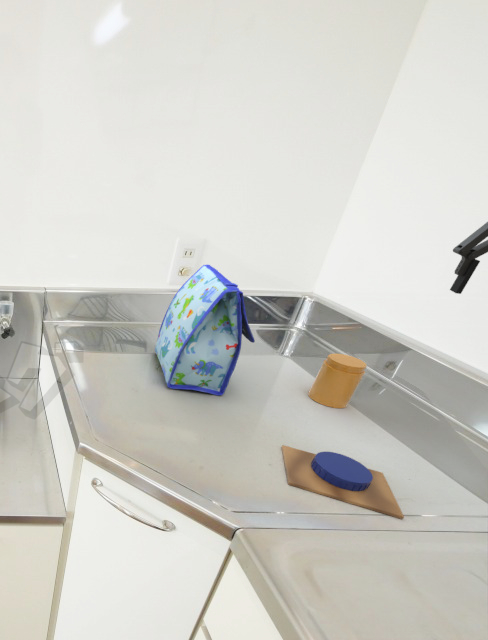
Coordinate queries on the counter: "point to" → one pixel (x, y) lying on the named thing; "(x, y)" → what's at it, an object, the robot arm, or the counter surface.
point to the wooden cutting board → (306, 478)
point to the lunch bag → (203, 333)
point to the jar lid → (341, 471)
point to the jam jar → (337, 380)
